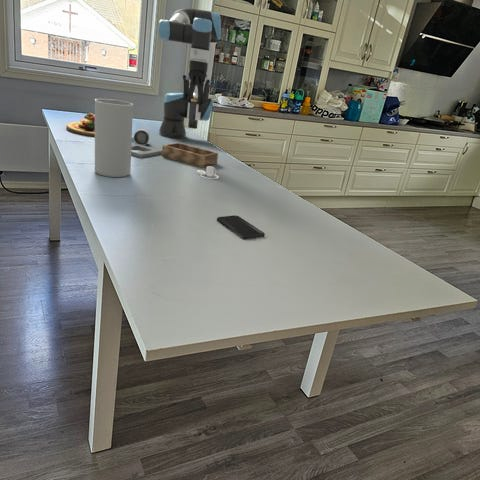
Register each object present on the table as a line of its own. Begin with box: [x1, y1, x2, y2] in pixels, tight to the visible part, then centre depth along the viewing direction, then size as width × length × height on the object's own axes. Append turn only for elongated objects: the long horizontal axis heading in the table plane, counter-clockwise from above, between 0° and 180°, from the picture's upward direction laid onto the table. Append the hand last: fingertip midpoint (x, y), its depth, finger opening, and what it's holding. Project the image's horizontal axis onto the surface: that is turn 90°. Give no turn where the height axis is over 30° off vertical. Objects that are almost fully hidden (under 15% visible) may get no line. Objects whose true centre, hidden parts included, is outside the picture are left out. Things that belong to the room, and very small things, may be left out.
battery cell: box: [187, 97, 199, 129], centre depth 176 cm, size 4×4×13 cm
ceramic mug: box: [132, 128, 150, 146], centre depth 199 cm, size 10×8×7 cm
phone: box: [216, 215, 266, 240], centre depth 118 cm, size 8×1×15 cm
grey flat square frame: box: [131, 143, 162, 159], centre depth 184 cm, size 15×15×2 cm
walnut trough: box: [161, 142, 219, 168], centre depth 183 cm, size 22×12×5 cm, turn 62°
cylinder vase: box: [94, 98, 134, 178], centre depth 144 cm, size 12×12×25 cm
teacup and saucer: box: [197, 165, 220, 180], centre depth 164 cm, size 9×8×4 cm
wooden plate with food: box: [66, 112, 95, 138], centre depth 212 cm, size 32×32×8 cm
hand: (193, 118), depth 177 cm, fingers closed on battery cell, 4 cm apart
